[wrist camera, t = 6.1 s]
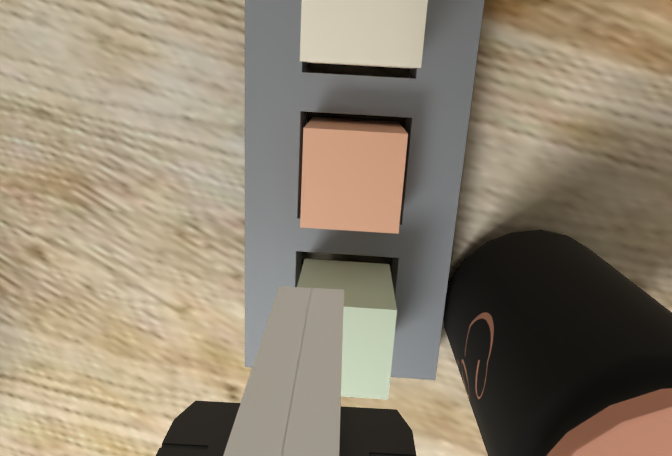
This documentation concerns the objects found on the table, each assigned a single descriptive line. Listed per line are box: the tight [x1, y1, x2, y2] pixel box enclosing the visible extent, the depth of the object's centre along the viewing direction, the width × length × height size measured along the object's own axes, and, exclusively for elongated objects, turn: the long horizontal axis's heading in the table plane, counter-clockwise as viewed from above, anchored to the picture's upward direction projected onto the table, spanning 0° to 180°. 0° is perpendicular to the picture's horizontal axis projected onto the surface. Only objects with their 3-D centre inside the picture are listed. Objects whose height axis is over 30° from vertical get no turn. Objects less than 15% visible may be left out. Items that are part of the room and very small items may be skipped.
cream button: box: [300, 0, 428, 68], centre depth 23 cm, size 5×5×6 cm
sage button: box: [297, 259, 397, 400], centre depth 28 cm, size 5×5×6 cm
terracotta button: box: [300, 117, 408, 234], centre depth 28 cm, size 5×5×6 cm
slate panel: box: [245, 0, 484, 380], centre depth 30 cm, size 12×26×4 cm, turn 177°
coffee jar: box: [444, 230, 672, 456], centre depth 25 cm, size 11×11×18 cm
